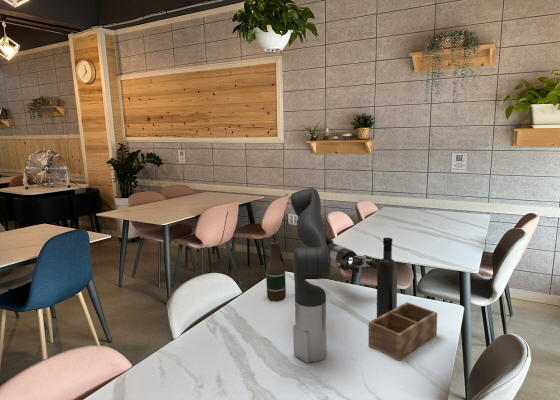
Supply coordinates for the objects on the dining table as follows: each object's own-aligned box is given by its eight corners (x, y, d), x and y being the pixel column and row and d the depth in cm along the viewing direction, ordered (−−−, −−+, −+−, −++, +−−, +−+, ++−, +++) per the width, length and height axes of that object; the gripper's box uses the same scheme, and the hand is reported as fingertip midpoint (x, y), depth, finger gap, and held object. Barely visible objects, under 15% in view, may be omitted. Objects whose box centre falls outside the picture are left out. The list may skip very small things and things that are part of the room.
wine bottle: (382, 315, 140) (383, 235, 135) (397, 319, 136) (399, 237, 131) (375, 321, 135) (376, 239, 130) (390, 326, 132) (392, 241, 127)
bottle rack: (399, 361, 112) (399, 335, 110) (368, 346, 120) (368, 322, 119) (436, 335, 125) (437, 312, 123) (406, 323, 133) (406, 302, 132)
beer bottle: (289, 297, 158) (288, 240, 154) (276, 303, 152) (274, 245, 148) (276, 292, 163) (274, 237, 159) (263, 298, 158) (260, 242, 154)
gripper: (328, 250, 154) (351, 261, 139) (357, 245, 160) (383, 255, 145) (328, 268, 155) (351, 281, 141) (357, 262, 161) (383, 274, 146)
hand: (367, 268), depth 143 cm, fingers open, 8 cm apart
